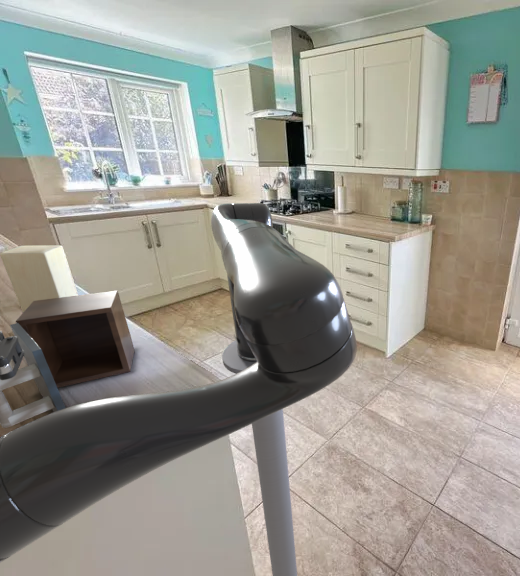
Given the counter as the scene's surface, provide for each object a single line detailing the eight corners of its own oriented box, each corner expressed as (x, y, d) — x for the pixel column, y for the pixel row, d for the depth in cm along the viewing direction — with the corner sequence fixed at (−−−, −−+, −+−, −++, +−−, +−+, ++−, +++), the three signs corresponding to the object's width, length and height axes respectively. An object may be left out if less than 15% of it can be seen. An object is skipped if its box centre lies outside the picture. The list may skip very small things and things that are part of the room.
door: (14, 449, 50) (-28, 371, 44) (-6, 412, 56) (-45, 339, 51) (71, 422, 55) (41, 348, 49) (47, 390, 62) (18, 322, 56)
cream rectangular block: (90, 321, 85) (64, 243, 77) (73, 336, 79) (43, 252, 71) (53, 324, 83) (22, 244, 75) (33, 339, 77) (-3, 253, 69)
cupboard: (130, 371, 68) (110, 307, 62) (45, 390, 62) (15, 321, 56) (134, 349, 75) (117, 290, 69) (59, 364, 69) (33, 300, 63)
